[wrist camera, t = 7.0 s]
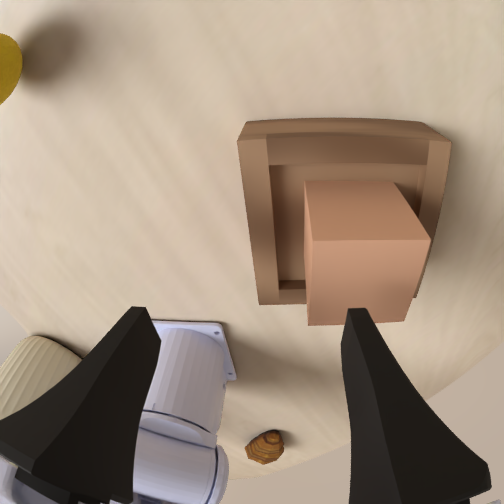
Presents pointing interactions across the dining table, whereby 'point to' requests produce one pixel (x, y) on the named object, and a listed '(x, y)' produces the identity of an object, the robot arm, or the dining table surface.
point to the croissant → (265, 447)
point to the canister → (32, 372)
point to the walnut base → (328, 169)
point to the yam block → (360, 251)
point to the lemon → (9, 66)
